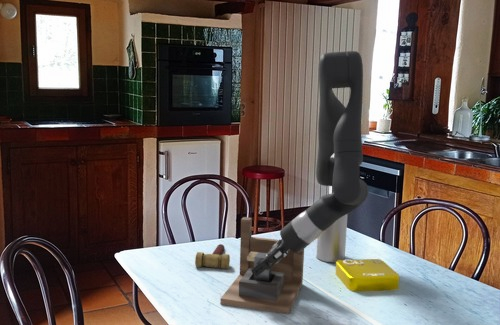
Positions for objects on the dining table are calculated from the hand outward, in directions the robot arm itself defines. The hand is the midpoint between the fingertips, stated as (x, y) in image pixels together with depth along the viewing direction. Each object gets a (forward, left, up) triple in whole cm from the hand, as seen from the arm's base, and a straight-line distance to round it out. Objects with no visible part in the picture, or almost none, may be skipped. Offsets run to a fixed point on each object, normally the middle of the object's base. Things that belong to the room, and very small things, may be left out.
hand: (257, 267), depth 141 cm
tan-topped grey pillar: (0, +1, -6) cm, 7 cm away
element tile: (-21, +28, -9) cm, 36 cm away
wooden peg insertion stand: (-2, +1, -8) cm, 8 cm away
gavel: (-25, -20, -9) cm, 33 cm away
